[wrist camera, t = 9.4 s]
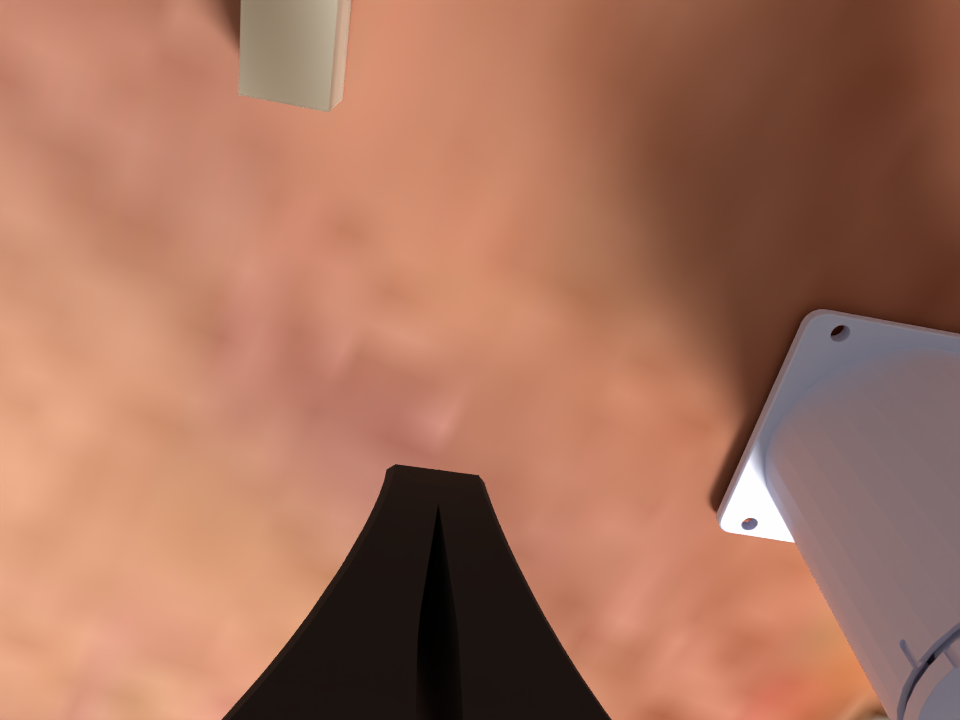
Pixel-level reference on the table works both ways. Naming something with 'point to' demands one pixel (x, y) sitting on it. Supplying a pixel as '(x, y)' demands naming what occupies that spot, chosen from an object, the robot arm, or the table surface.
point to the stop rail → (294, 51)
